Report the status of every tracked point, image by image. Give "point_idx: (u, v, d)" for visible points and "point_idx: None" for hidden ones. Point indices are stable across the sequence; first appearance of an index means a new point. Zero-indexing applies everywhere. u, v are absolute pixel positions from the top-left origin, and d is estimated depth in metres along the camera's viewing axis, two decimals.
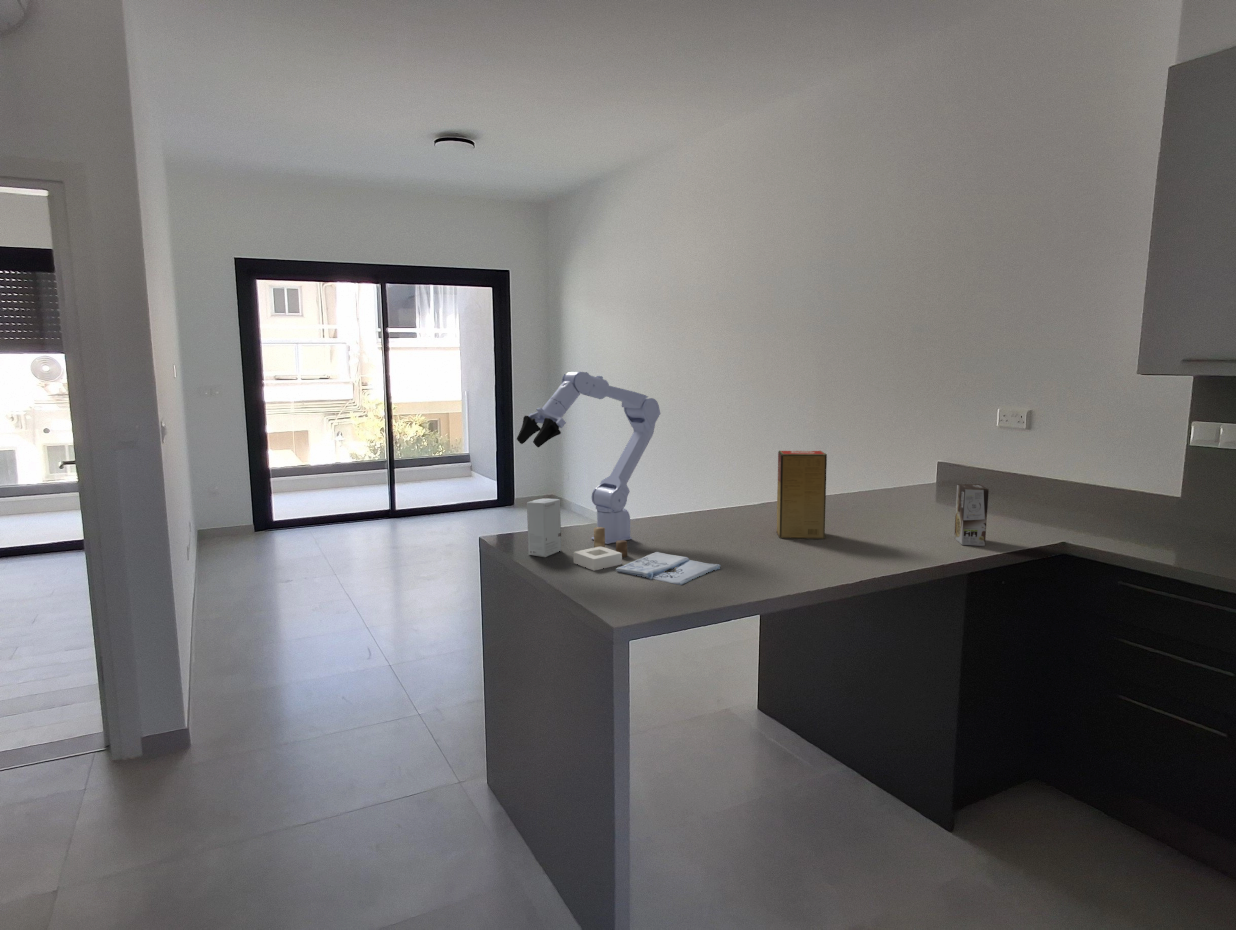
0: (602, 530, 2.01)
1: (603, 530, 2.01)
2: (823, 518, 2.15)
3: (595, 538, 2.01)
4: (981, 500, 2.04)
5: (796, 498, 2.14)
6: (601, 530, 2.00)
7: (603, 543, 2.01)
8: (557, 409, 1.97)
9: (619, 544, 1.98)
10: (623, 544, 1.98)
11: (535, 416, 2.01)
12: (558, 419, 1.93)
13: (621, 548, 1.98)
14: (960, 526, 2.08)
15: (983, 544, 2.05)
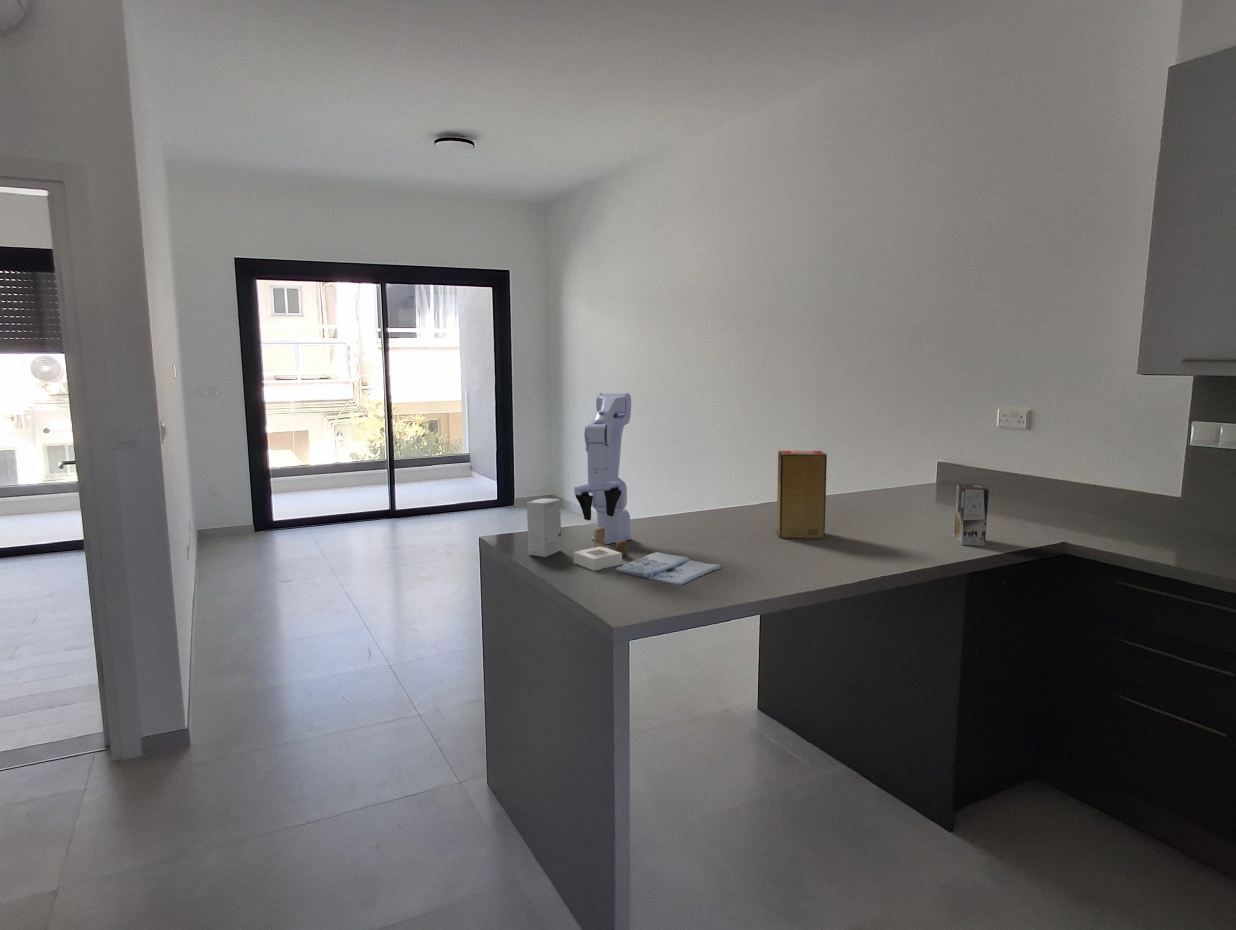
0: (602, 530, 2.01)
1: (603, 530, 2.01)
2: (823, 518, 2.15)
3: (595, 538, 2.01)
4: (981, 500, 2.04)
5: (796, 498, 2.14)
6: (601, 530, 2.00)
7: (603, 543, 2.01)
8: None
9: (619, 544, 1.98)
10: (623, 544, 1.98)
11: (588, 489, 1.97)
12: (619, 485, 2.03)
13: (621, 548, 1.98)
14: (960, 526, 2.08)
15: (983, 544, 2.05)
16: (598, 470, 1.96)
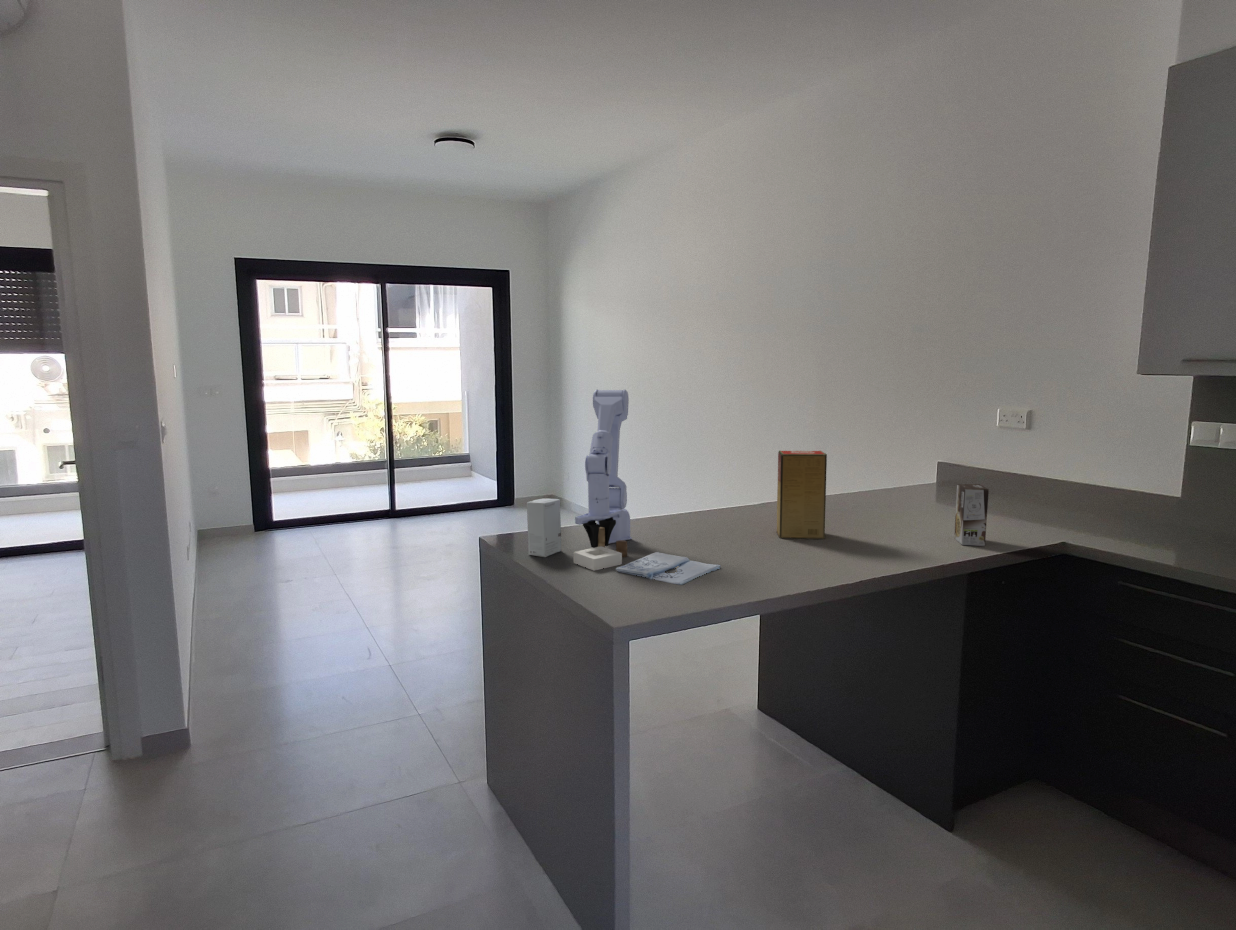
0: (602, 530, 2.01)
1: (603, 530, 2.01)
2: (823, 518, 2.15)
3: None
4: (981, 500, 2.04)
5: (796, 498, 2.14)
6: (601, 530, 2.00)
7: (603, 543, 2.01)
8: None
9: (619, 544, 1.98)
10: (623, 544, 1.98)
11: None
12: (620, 513, 2.04)
13: (621, 548, 1.98)
14: (960, 526, 2.08)
15: (983, 544, 2.05)
16: (599, 500, 1.98)
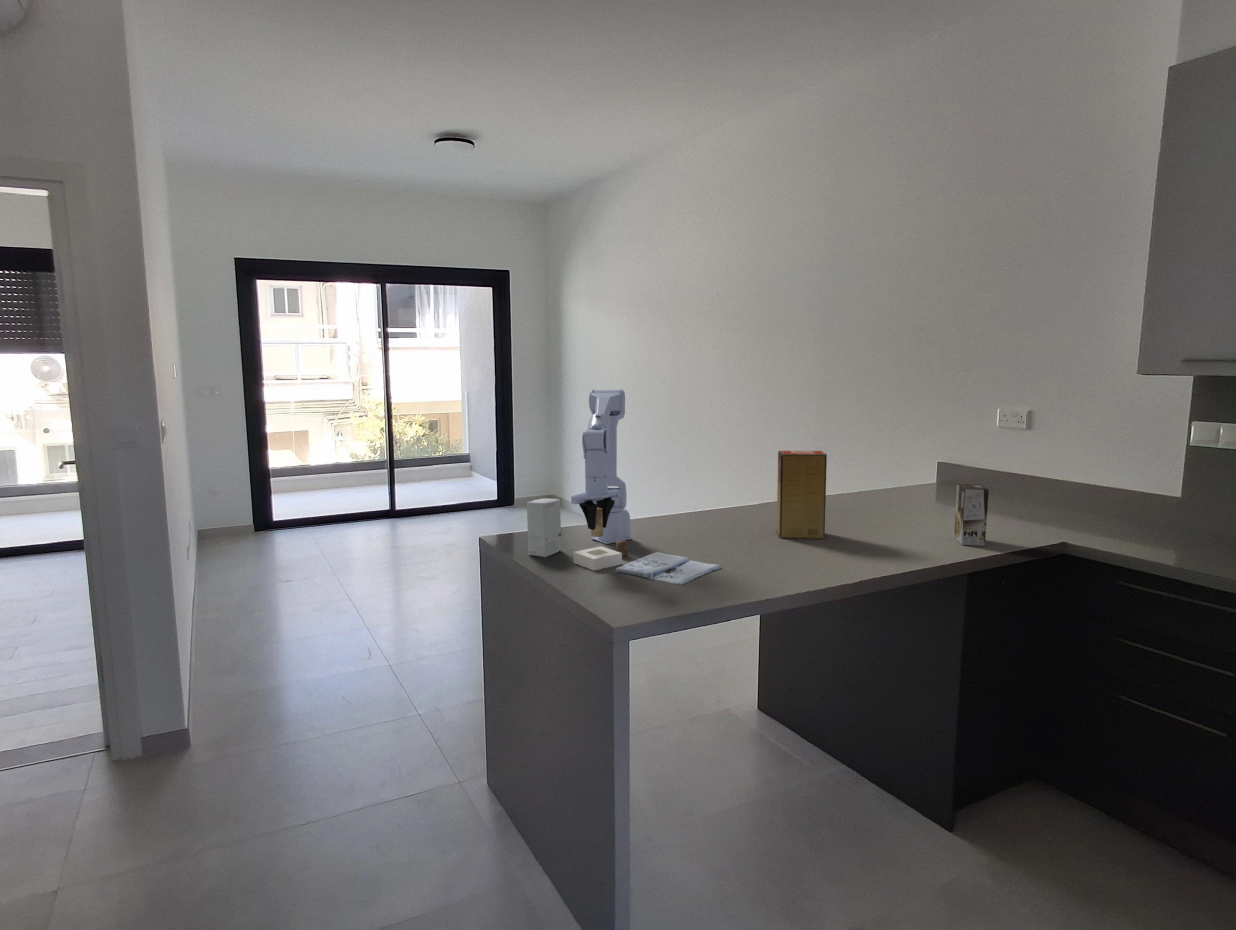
0: (599, 511, 1.89)
1: (601, 511, 1.90)
2: (823, 518, 2.15)
3: None
4: (981, 500, 2.04)
5: (796, 498, 2.14)
6: (598, 511, 1.89)
7: (600, 525, 1.90)
8: None
9: (619, 544, 1.98)
10: (623, 544, 1.98)
11: None
12: (619, 493, 1.93)
13: (621, 548, 1.98)
14: (960, 526, 2.08)
15: (983, 544, 2.05)
16: (596, 478, 1.86)
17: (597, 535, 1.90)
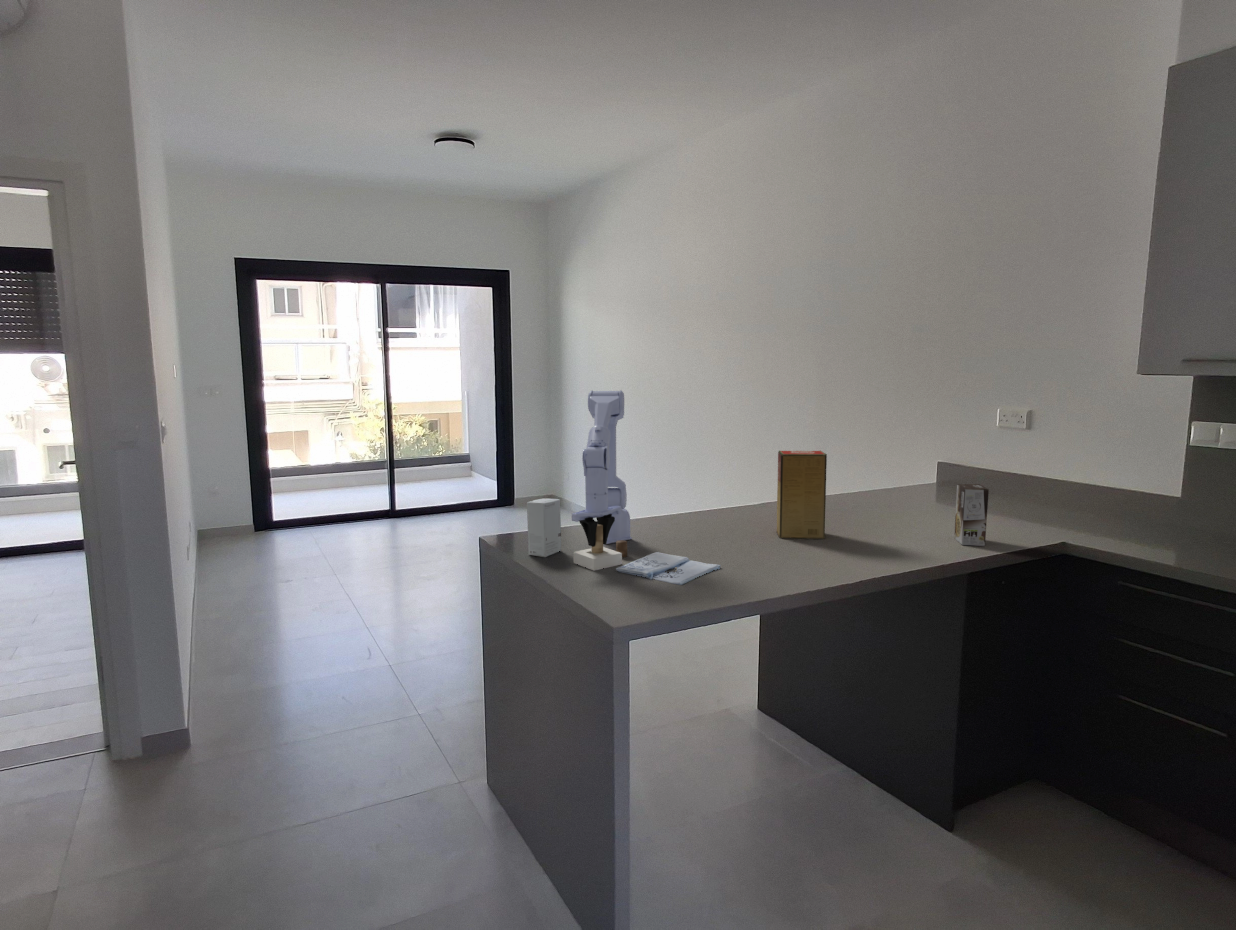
0: (600, 528, 1.90)
1: (601, 528, 1.90)
2: (823, 518, 2.15)
3: None
4: (981, 500, 2.04)
5: (796, 498, 2.14)
6: (599, 527, 1.90)
7: (600, 541, 1.90)
8: None
9: (619, 544, 1.98)
10: (623, 544, 1.98)
11: None
12: (619, 510, 1.94)
13: (621, 548, 1.98)
14: (960, 526, 2.08)
15: (983, 544, 2.05)
16: (596, 495, 1.87)
17: (597, 552, 1.91)
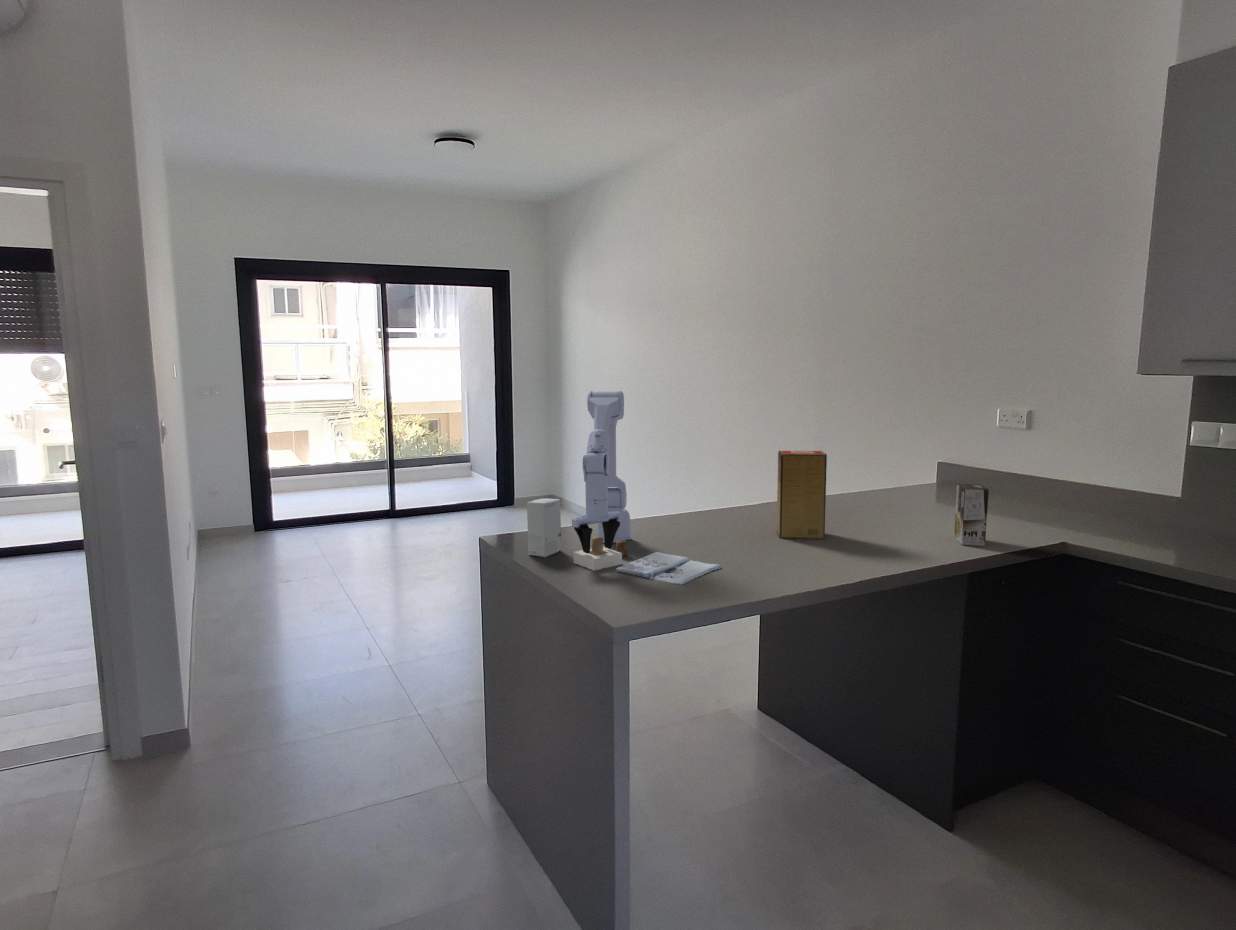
0: (600, 539, 1.90)
1: (601, 539, 1.91)
2: (823, 518, 2.15)
3: (592, 548, 1.91)
4: (981, 500, 2.04)
5: (796, 498, 2.14)
6: (599, 539, 1.90)
7: (600, 553, 1.91)
8: None
9: (619, 544, 1.98)
10: (623, 544, 1.98)
11: None
12: (619, 515, 1.94)
13: (621, 548, 1.98)
14: (960, 526, 2.08)
15: (983, 544, 2.05)
16: (597, 501, 1.87)
17: None
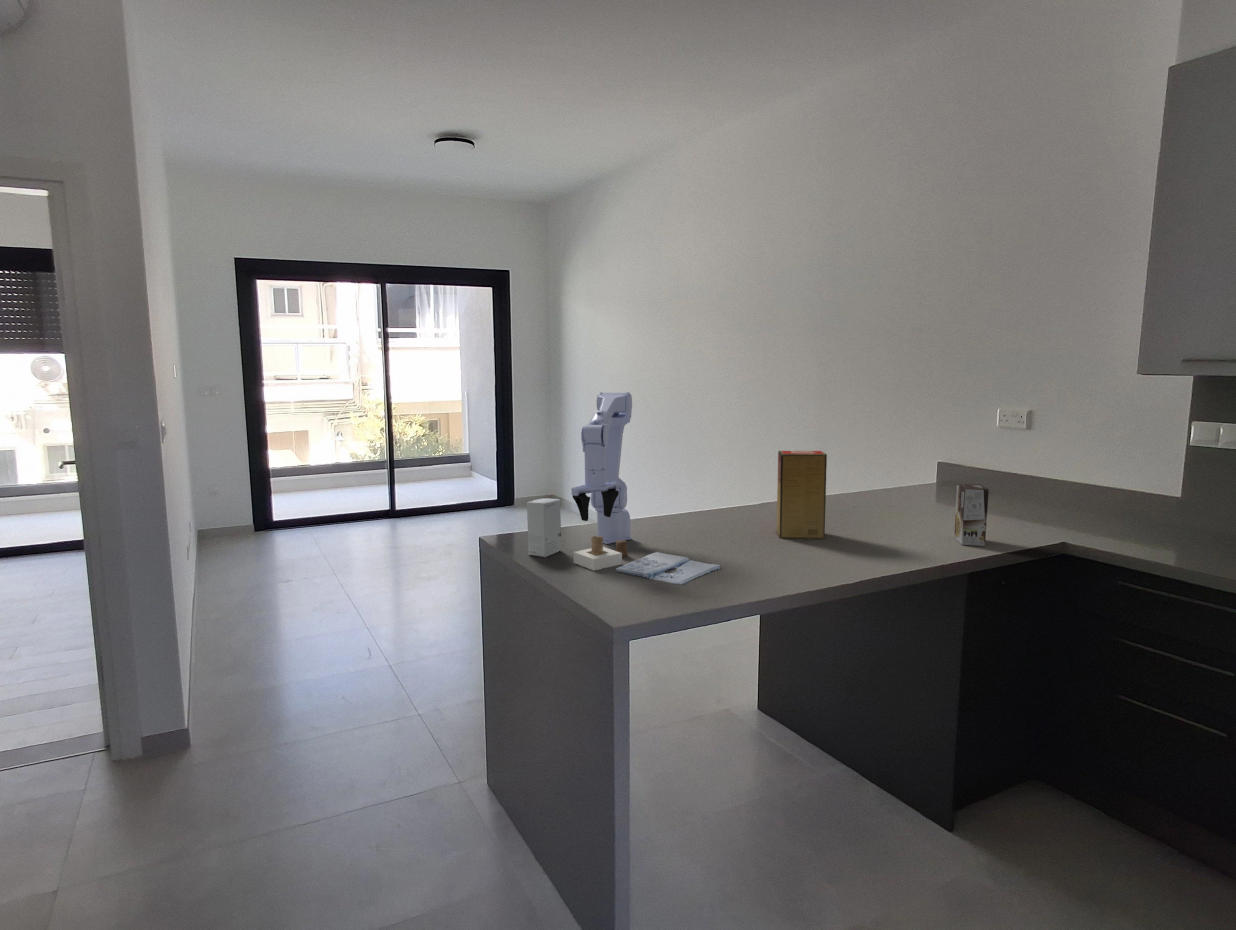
0: (600, 539, 1.90)
1: (601, 539, 1.91)
2: (823, 518, 2.15)
3: (592, 548, 1.91)
4: (981, 500, 2.04)
5: (796, 498, 2.14)
6: (599, 539, 1.90)
7: (600, 553, 1.91)
8: None
9: (619, 544, 1.98)
10: (623, 544, 1.98)
11: None
12: (617, 485, 2.03)
13: (621, 548, 1.98)
14: (960, 526, 2.08)
15: (983, 544, 2.05)
16: (595, 471, 1.96)
17: None
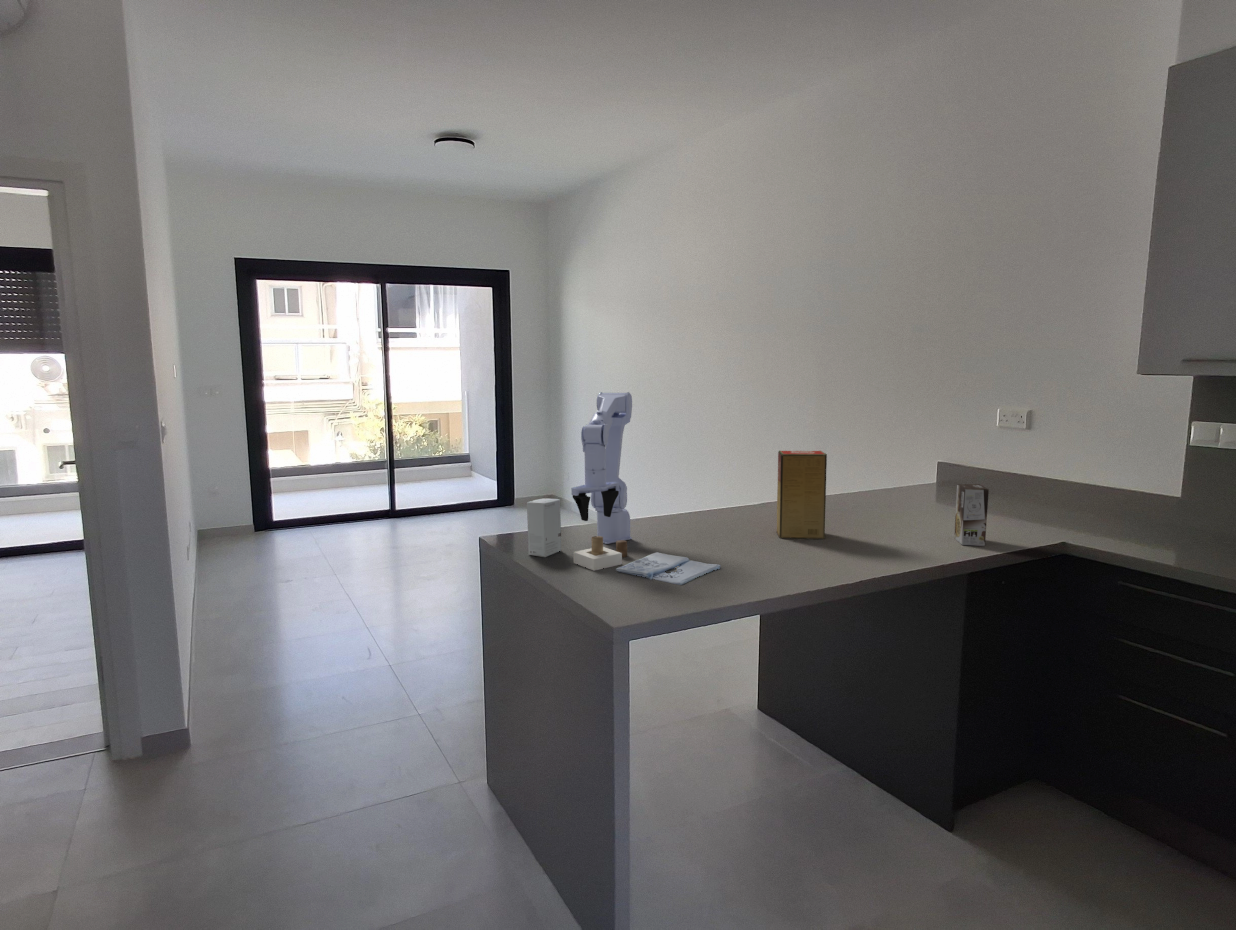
0: (600, 539, 1.90)
1: (601, 539, 1.91)
2: (823, 518, 2.15)
3: (592, 548, 1.91)
4: (981, 500, 2.04)
5: (796, 498, 2.14)
6: (599, 539, 1.90)
7: (601, 553, 1.91)
8: None
9: (619, 544, 1.98)
10: (623, 544, 1.98)
11: None
12: (617, 485, 2.03)
13: (621, 548, 1.98)
14: (960, 526, 2.08)
15: (983, 544, 2.05)
16: (595, 471, 1.96)
17: None
